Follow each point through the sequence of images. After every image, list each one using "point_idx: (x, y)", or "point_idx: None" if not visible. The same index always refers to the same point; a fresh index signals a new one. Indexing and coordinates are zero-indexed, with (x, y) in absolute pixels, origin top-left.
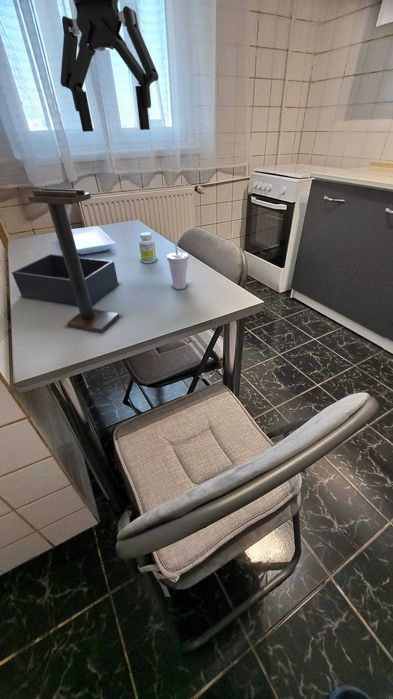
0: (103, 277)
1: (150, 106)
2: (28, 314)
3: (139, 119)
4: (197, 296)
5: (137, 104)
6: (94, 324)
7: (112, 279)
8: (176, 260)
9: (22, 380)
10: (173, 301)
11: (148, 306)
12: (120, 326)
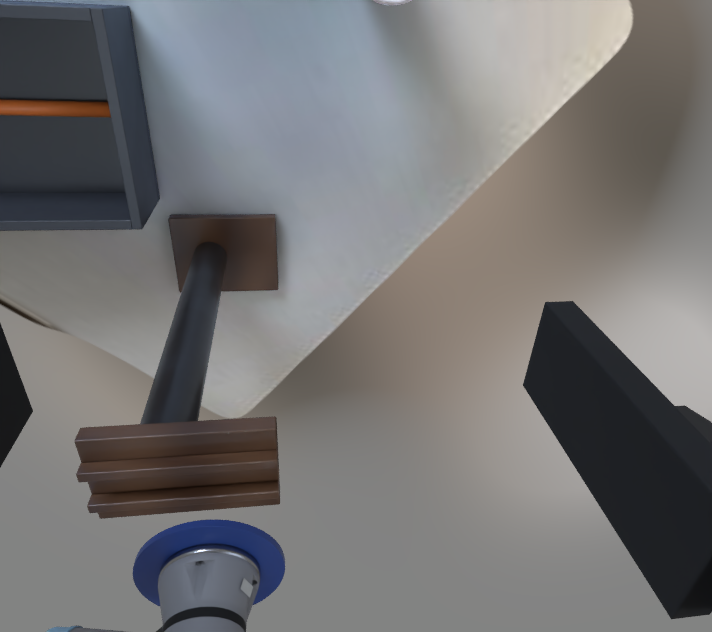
0: (129, 105)
1: (692, 416)
2: (27, 275)
3: (552, 424)
4: (453, 28)
5: (596, 498)
6: (250, 279)
7: (126, 45)
8: (402, 1)
9: None
10: (387, 87)
11: (325, 139)
12: (303, 251)
